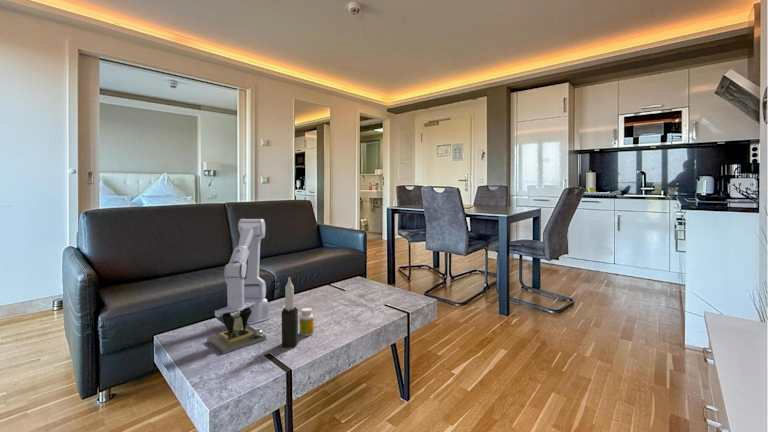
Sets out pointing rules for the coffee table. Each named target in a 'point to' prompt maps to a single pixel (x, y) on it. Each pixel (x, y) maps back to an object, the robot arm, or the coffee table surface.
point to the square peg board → (236, 340)
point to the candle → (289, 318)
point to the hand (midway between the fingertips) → (236, 330)
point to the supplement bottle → (306, 322)
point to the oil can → (237, 325)
